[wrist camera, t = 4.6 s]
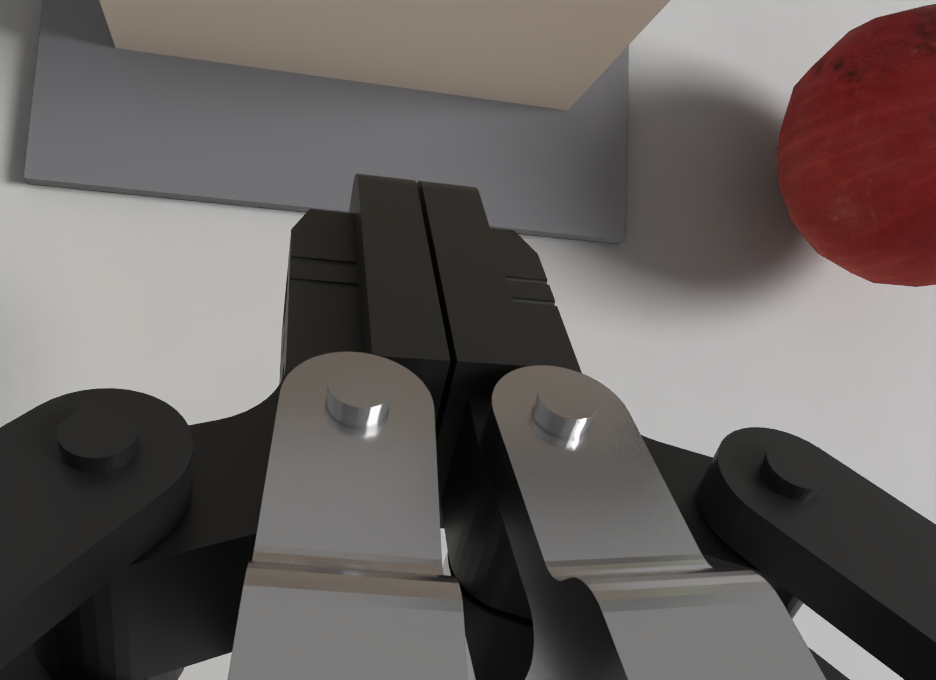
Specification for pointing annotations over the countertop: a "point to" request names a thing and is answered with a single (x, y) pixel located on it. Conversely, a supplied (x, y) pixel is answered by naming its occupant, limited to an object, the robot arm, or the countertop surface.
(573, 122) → the mat
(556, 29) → the tile
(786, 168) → the onion
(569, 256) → the countertop surface
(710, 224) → the countertop surface
